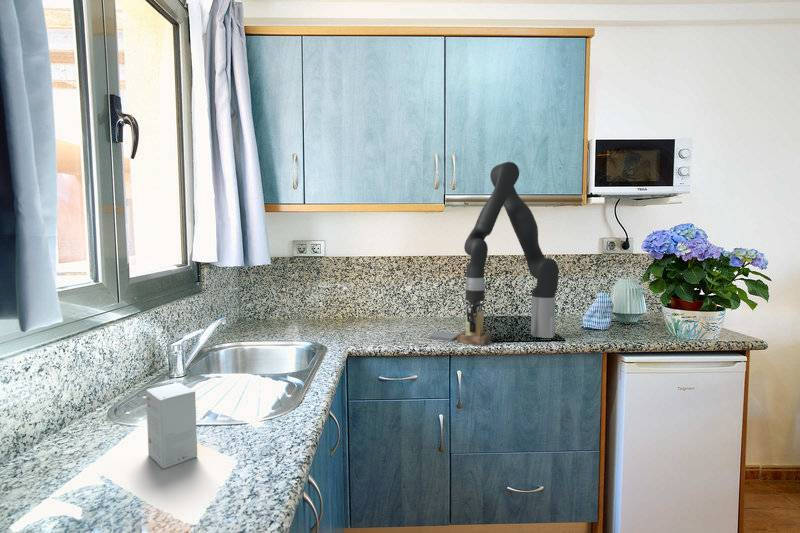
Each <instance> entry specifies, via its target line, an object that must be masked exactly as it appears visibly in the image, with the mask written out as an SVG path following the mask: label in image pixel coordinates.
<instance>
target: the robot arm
mask: <svg viewBox="0 0 800 533" xmlns="http://www.w3.org/2000/svg"><path fill="white" fill-rule="evenodd" d="M519 177H520V169H519V167H518V165H517V164H516V163H514V162H513V161H506V162H502V163H500V164H497V165H495V166H494V167H493V168H492V169H491V171H490V177H489V178H490V181H491V183H492V185H493V191H492V193H491V195H490V197H489V198H488V199H487V201H486V202H485V204H484V205H483V207H482V208H481V210H480V212H479V214H478V217H477V220H476V223H475V225H474V227H473V228H472V230H471V231H470V232H469V235H468V236H467V237H466V239H465V242H464V252H465V253H466V255H468V256H470V261H469V263H467V264H466V271H465V272H466V276H465V277H466V278H465V300H466V301H469V305H468V307H466V312H467V321H468V322H469V323H470V332H475V328H476V317H477V313H478V311H483V307H484V304H483V303H481V302H484V301H485V294H486V293H485V291H486V289H485V288H486V284H485V265H486V262H487V257H488V253H489V252H488V251H489V248H488V243H487V242H486V241H485V239H486V237H488V236H490V235H491V234H492V231H493V229H494V227H495V225H496V222H497V219H498V217H499V215H500V213H501V211H502V208H503V206H504V209H505V211H506V215H507V216H508V218H509V221H510V224H511V226H512V228H513V231H514V233H515V236H516V238H517V240H518V242H519V244H520V247H521V249H522V252H523V254H524V258H525V261H526V264H527V268H528V271H529V273H530V275H531V276H532V277H533V278H534V279H536V285H535V287H534V288H532V290H531V314H530V315H531V316H530V318H531V319H530V336H531V335H533V336H537V337H542V338H553V337H554V336H555V337H556V311H555V310H556V292H557V290H558V287H559V286H558V285H559V274H560V273H559V272H560V271H559V270H560V269H559V266H558V263H557V262H556V260H555V259H552V258H548V257H545V255H544V254H543V252H542V249H541V246H540V243H539V229H538V228H539V227H538V223H537V222H536V219H535V217H534V214H533V212H532V210H531V209H530V207H529V206H528V205H527V204H526V203H525V201H524V200H523V199H522V198H521V197H520V196H519V195H518V194H519V193H517V190H516V188H515V185H516V183H517V181H518V180H519ZM475 313H476V314H475ZM474 314H475V315H474ZM471 317H472V319H471ZM555 337H554V338H555Z"/></svg>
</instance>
